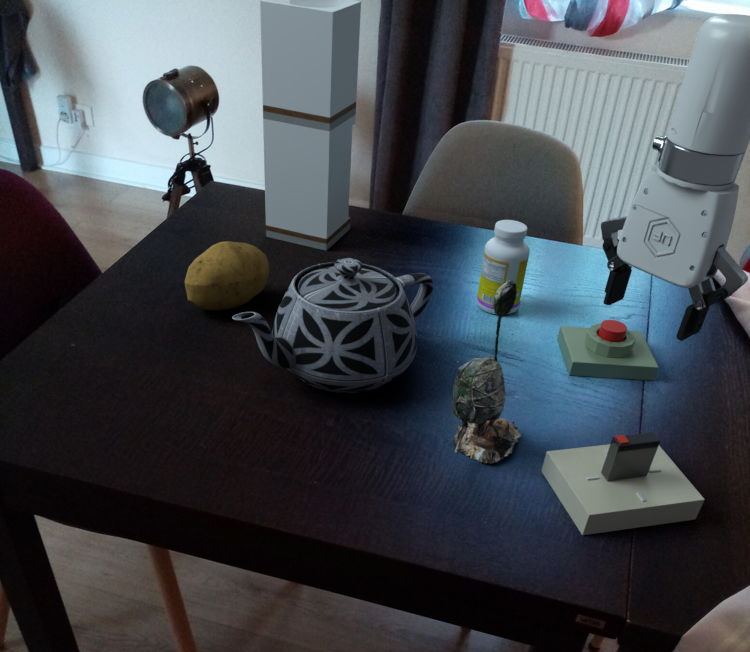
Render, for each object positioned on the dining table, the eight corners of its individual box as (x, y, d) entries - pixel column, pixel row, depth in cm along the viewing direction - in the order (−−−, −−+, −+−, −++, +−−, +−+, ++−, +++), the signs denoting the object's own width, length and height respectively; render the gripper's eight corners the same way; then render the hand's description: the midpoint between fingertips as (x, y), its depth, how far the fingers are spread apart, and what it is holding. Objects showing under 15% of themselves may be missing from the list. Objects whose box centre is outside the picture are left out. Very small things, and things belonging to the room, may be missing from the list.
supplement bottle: (510, 295, 125) (526, 216, 117) (523, 316, 120) (541, 235, 112) (470, 296, 124) (483, 216, 115) (482, 317, 119) (496, 235, 111)
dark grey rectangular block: (639, 467, 89) (654, 430, 85) (647, 476, 88) (661, 438, 84) (600, 472, 87) (613, 434, 84) (607, 481, 86) (620, 443, 83)
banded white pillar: (350, 228, 141) (361, 1, 117) (326, 250, 133) (332, 12, 110) (292, 215, 143) (292, -9, 120) (266, 236, 136) (260, 0, 112)
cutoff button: (620, 331, 111) (623, 320, 110) (626, 344, 108) (629, 333, 107) (595, 329, 111) (598, 318, 110) (600, 342, 108) (604, 331, 107)
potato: (166, 240, 110) (198, 259, 105) (247, 227, 117) (282, 244, 112) (172, 305, 116) (204, 326, 110) (250, 288, 123) (283, 307, 117)
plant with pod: (422, 441, 95) (443, 289, 81) (491, 413, 100) (521, 266, 87) (467, 478, 90) (496, 322, 77) (536, 447, 95) (575, 296, 82)
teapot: (201, 368, 103) (191, 260, 93) (383, 311, 118) (391, 213, 108) (278, 442, 93) (276, 329, 83) (468, 369, 108) (485, 266, 98)
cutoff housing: (636, 344, 116) (644, 319, 114) (654, 380, 109) (663, 356, 106) (557, 338, 116) (563, 314, 113) (569, 375, 108) (575, 350, 106)
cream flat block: (646, 458, 95) (654, 437, 93) (695, 519, 87) (705, 498, 85) (541, 471, 92) (546, 450, 90) (582, 535, 84) (589, 514, 82)
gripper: (605, 143, 80) (567, 297, 91) (762, 198, 71) (698, 362, 82) (646, 132, 84) (605, 281, 95) (800, 182, 75) (734, 340, 86)
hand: (648, 318), depth 88 cm, fingers open, 9 cm apart
